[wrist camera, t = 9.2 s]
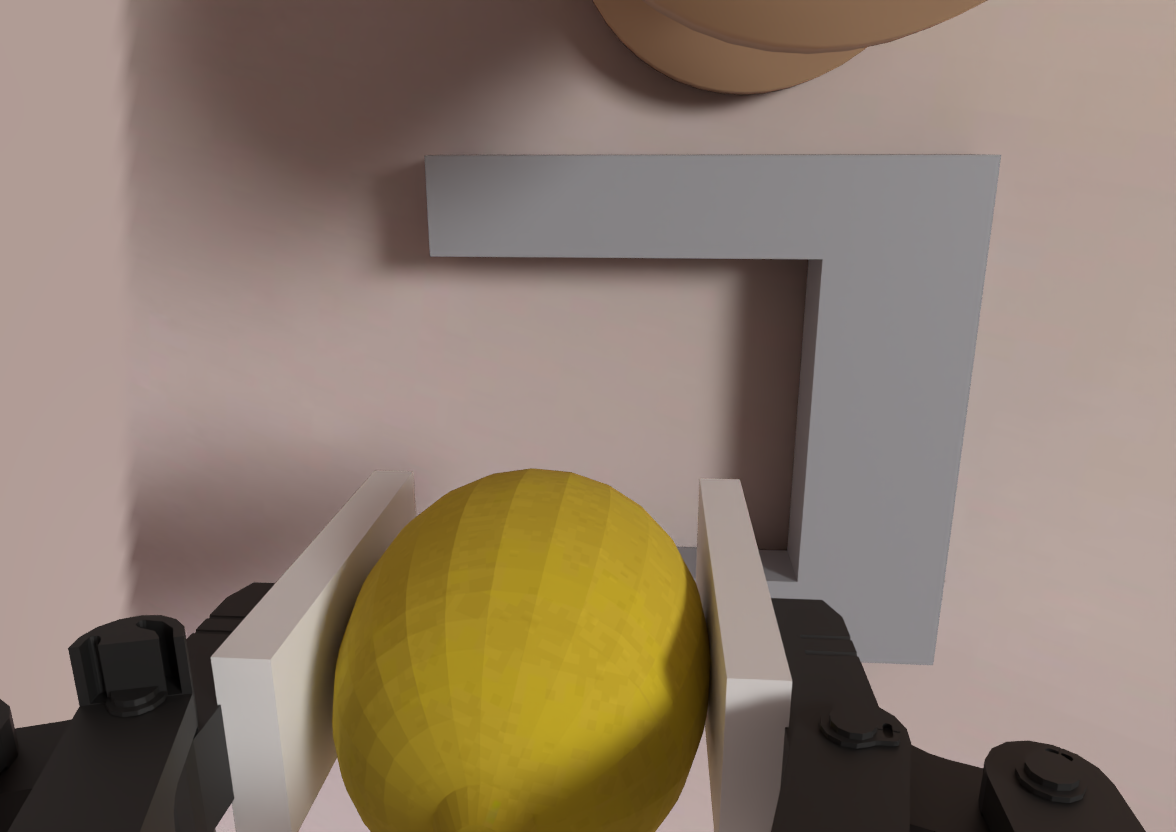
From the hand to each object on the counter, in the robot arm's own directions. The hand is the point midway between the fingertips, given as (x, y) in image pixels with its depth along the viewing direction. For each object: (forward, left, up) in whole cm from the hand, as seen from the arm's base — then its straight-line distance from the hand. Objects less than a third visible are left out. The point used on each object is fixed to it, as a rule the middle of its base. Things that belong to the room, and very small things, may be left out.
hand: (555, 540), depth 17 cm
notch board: (0, +3, -9) cm, 10 cm away
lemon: (0, 0, -1) cm, 1 cm away
